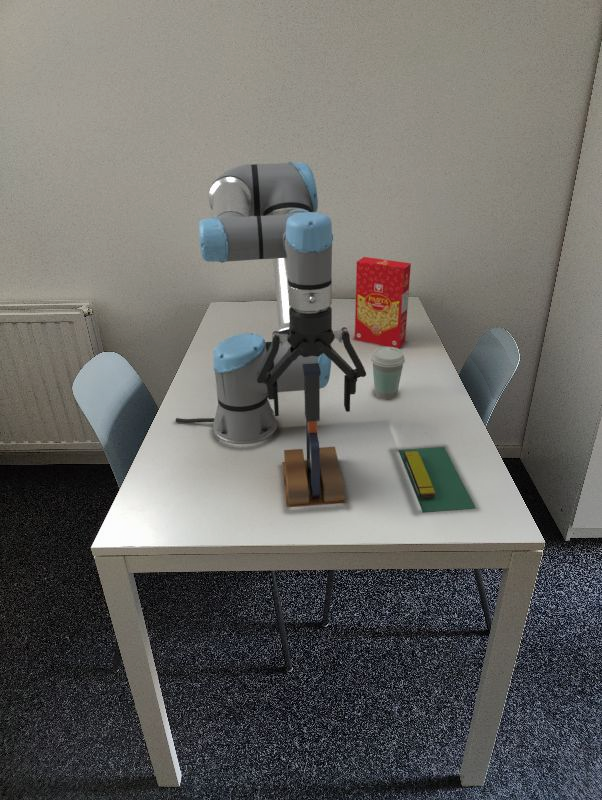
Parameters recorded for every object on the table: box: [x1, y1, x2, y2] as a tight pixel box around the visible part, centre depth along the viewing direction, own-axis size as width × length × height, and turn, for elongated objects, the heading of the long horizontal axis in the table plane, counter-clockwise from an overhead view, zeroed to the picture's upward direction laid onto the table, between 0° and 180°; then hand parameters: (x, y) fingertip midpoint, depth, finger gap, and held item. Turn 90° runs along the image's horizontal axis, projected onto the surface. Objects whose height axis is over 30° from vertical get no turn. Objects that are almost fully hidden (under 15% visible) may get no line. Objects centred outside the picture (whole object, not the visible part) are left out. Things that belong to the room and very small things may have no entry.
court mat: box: [397, 446, 476, 513], centre depth 124 cm, size 12×21×1 cm, turn 5°
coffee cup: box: [370, 346, 406, 400], centre depth 152 cm, size 9×8×12 cm
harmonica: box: [404, 451, 435, 498], centre depth 123 cm, size 15×3×2 cm, turn 4°
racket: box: [303, 363, 321, 497], centre depth 114 cm, size 11×3×27 cm, turn 5°
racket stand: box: [281, 446, 348, 508], centre depth 121 cm, size 15×12×5 cm
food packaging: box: [354, 256, 412, 349], centre depth 177 cm, size 15×5×25 cm, turn 60°
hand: (311, 410), depth 113 cm, fingers open, 13 cm apart
